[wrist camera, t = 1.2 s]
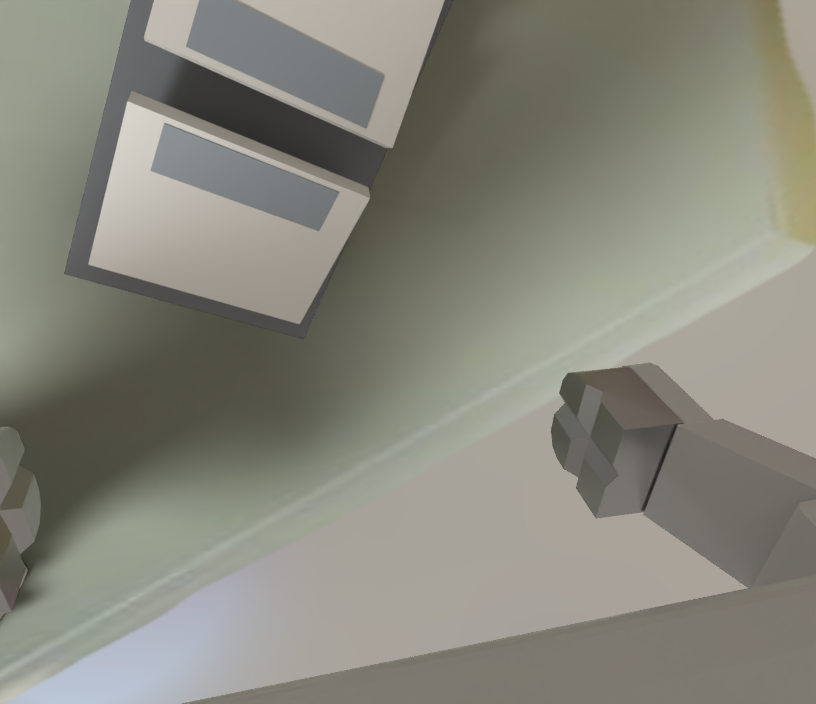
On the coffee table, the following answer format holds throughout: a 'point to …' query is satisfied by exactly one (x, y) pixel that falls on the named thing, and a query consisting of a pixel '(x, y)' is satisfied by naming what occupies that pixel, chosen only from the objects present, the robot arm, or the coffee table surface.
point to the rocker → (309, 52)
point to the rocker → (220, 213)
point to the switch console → (228, 109)
